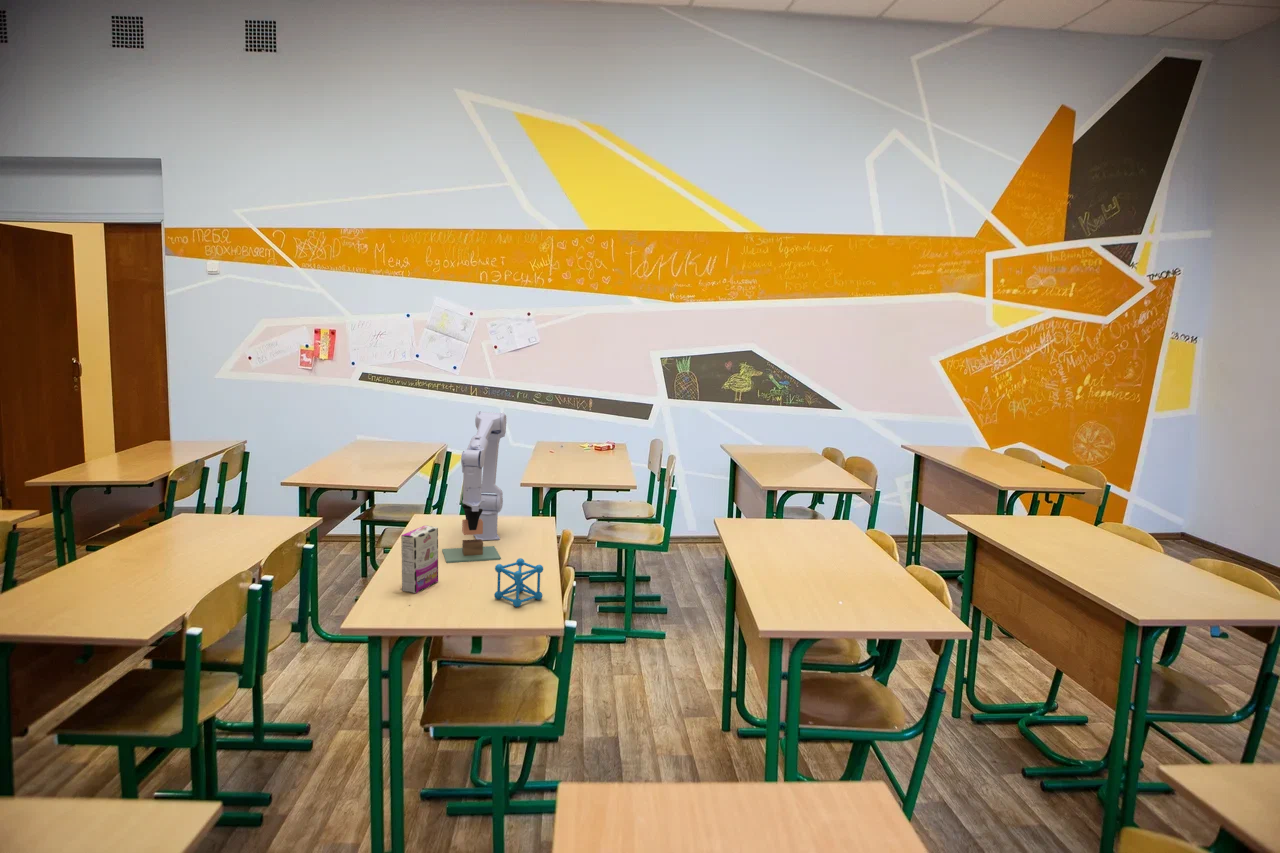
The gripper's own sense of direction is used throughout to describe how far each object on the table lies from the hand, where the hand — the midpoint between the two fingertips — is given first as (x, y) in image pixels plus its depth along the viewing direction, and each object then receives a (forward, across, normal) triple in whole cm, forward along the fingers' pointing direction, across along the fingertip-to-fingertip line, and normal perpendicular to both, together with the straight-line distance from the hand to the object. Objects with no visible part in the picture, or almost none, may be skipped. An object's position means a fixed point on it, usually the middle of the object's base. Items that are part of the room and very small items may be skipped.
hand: (471, 528), depth 246 cm
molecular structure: (+9, -42, -7) cm, 44 cm away
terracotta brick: (+2, 0, 0) cm, 2 cm away
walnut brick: (+8, 0, 0) cm, 8 cm away
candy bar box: (+9, -26, +18) cm, 33 cm away
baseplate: (+9, 0, 0) cm, 9 cm away
